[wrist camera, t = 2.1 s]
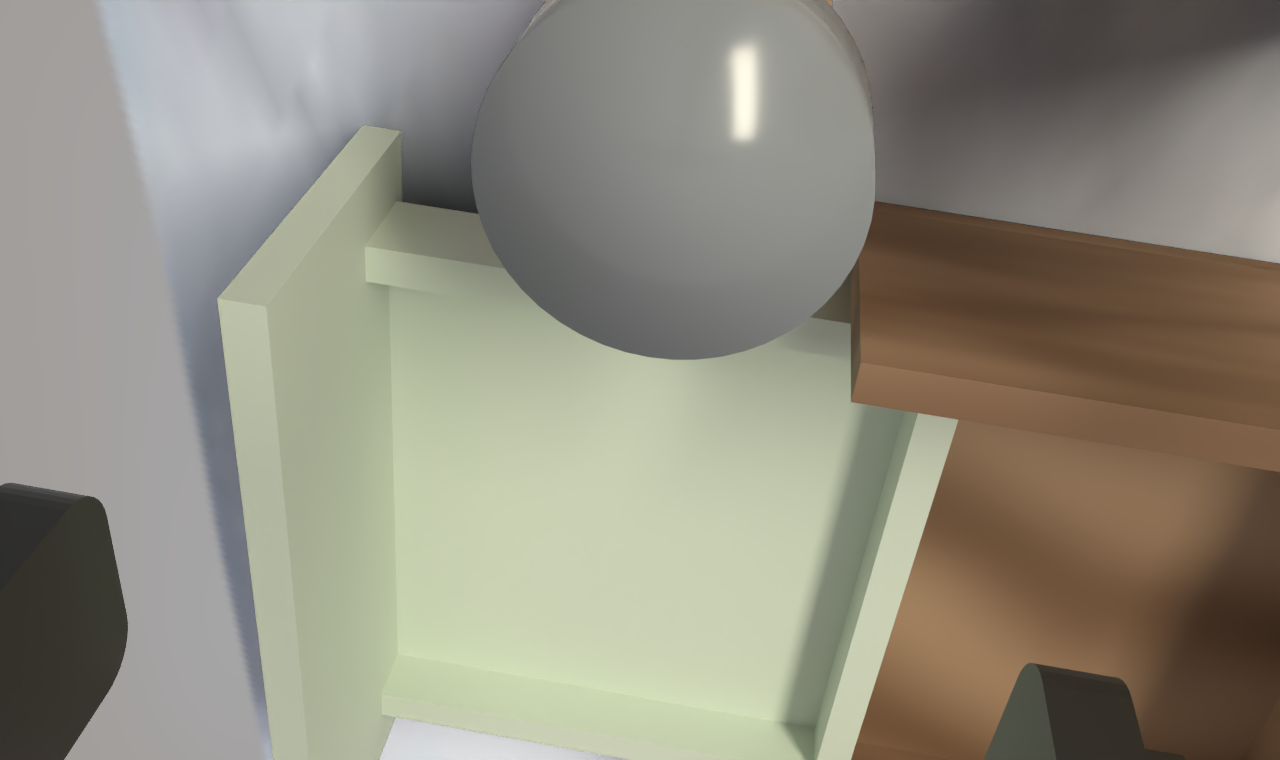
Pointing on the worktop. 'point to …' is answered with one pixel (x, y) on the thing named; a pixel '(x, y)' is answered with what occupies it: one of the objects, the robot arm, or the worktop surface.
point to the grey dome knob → (678, 169)
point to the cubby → (1078, 479)
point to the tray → (549, 504)
